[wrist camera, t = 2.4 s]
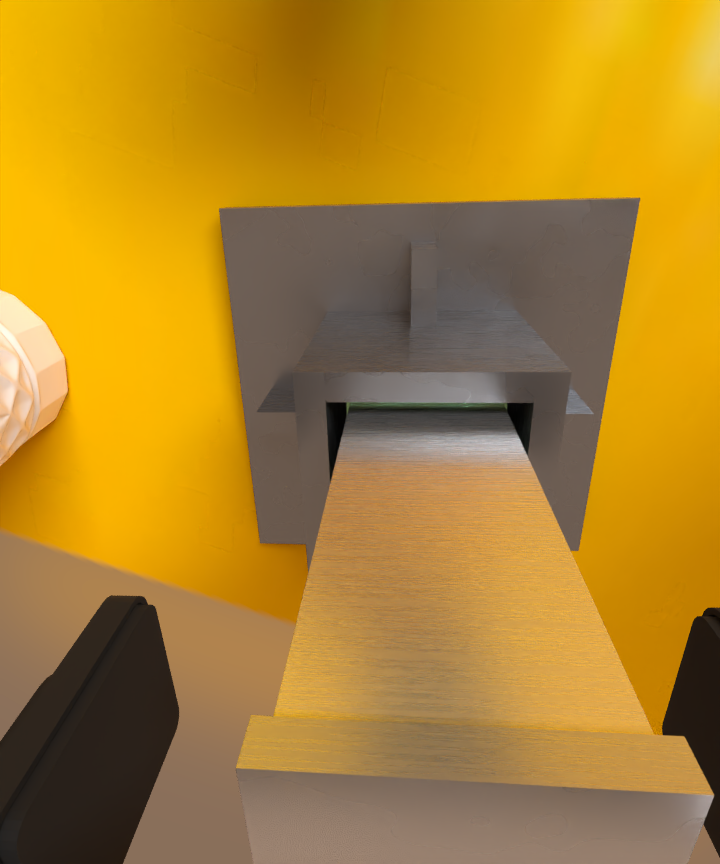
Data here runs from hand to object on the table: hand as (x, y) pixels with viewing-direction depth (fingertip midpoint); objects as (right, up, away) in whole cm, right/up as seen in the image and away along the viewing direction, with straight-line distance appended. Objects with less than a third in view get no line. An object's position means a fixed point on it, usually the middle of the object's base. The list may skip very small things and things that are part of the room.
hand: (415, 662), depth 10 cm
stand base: (+1, +6, +12) cm, 14 cm away
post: (+1, +5, +11) cm, 13 cm away
